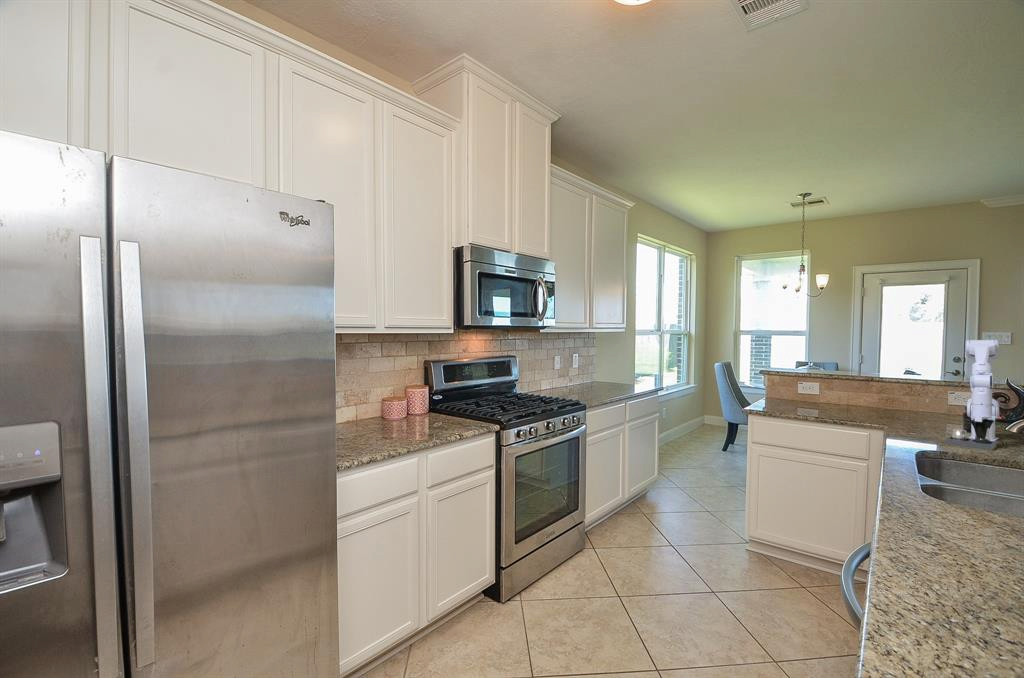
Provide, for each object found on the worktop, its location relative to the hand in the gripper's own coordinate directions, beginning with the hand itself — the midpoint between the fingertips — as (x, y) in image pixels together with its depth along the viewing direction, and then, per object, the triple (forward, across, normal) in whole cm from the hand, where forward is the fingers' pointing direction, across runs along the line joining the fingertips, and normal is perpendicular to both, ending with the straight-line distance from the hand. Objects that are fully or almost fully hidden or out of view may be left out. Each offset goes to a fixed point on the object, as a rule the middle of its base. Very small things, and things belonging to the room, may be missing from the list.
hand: (982, 437), depth 180 cm
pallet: (+4, 0, +3) cm, 5 cm away
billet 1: (+4, 0, +7) cm, 8 cm away
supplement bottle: (+4, +42, +9) cm, 44 cm away
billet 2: (+2, 0, 0) cm, 2 cm away
